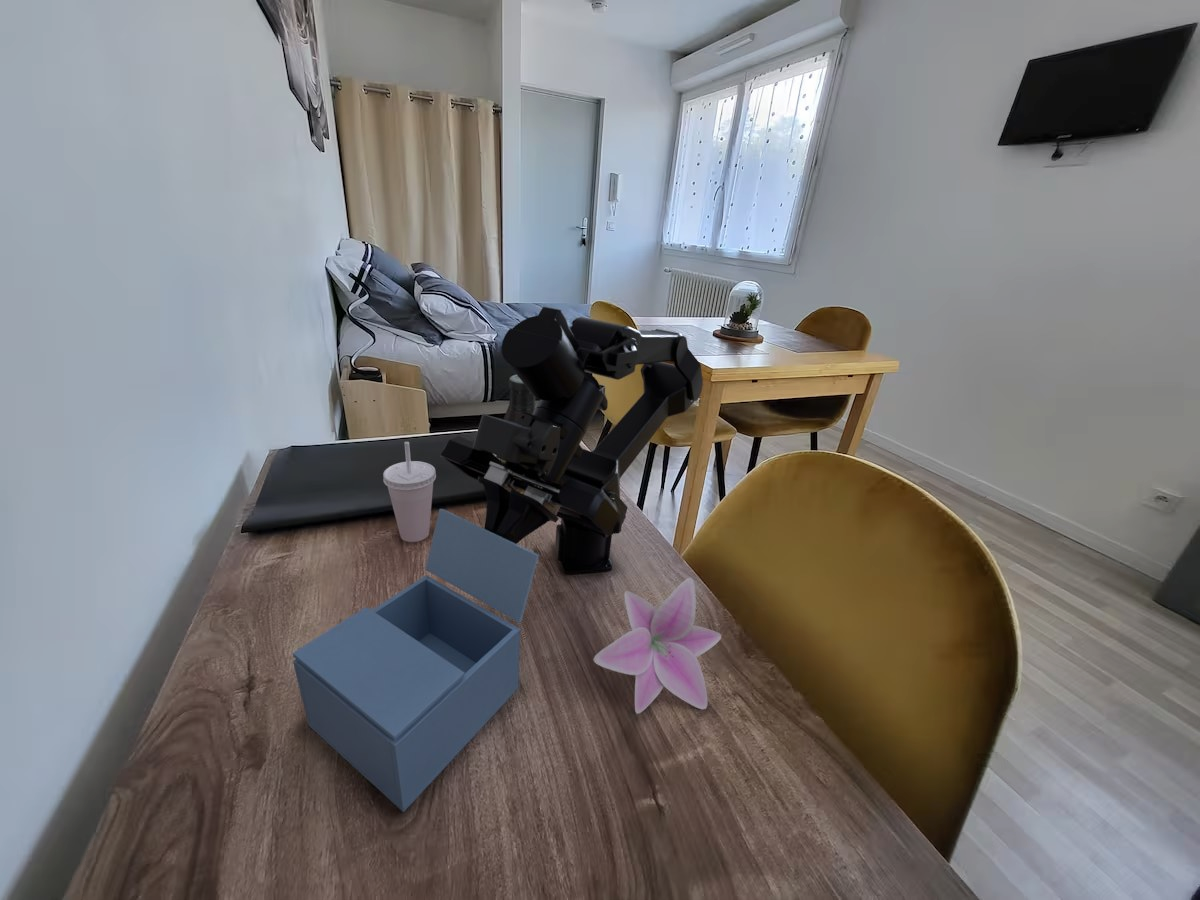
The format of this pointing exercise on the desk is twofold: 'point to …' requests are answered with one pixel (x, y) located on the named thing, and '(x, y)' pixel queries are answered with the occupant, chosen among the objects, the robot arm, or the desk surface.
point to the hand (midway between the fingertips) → (484, 562)
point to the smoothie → (411, 496)
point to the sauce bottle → (519, 402)
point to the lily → (662, 648)
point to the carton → (408, 684)
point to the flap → (482, 564)
